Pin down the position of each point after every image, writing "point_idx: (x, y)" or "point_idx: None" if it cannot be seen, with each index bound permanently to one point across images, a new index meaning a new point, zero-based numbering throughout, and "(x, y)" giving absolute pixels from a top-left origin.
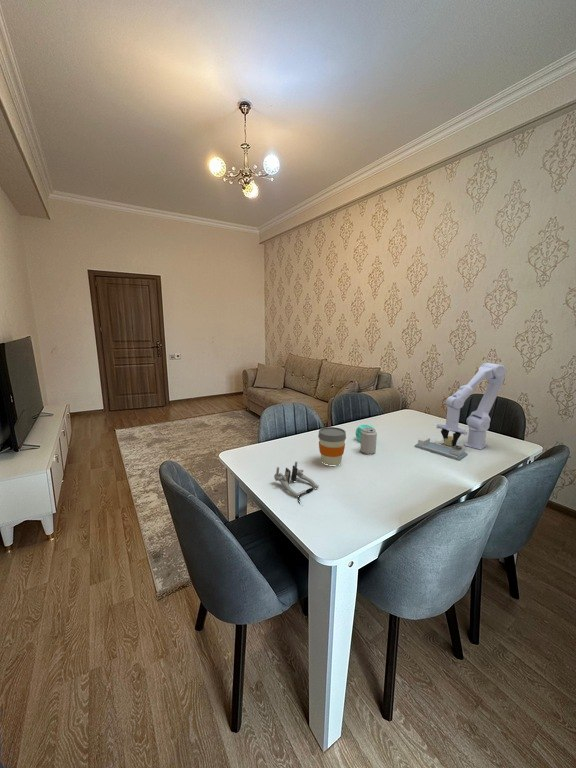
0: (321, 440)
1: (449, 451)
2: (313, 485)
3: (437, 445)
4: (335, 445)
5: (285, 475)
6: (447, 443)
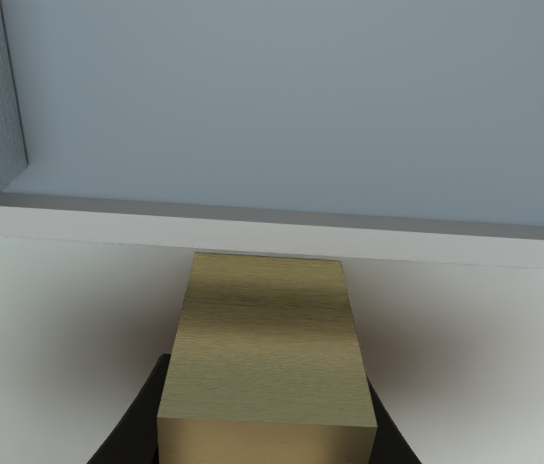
0: None
1: (98, 3)
2: None
3: (465, 202)
4: None
5: None
6: (273, 331)
